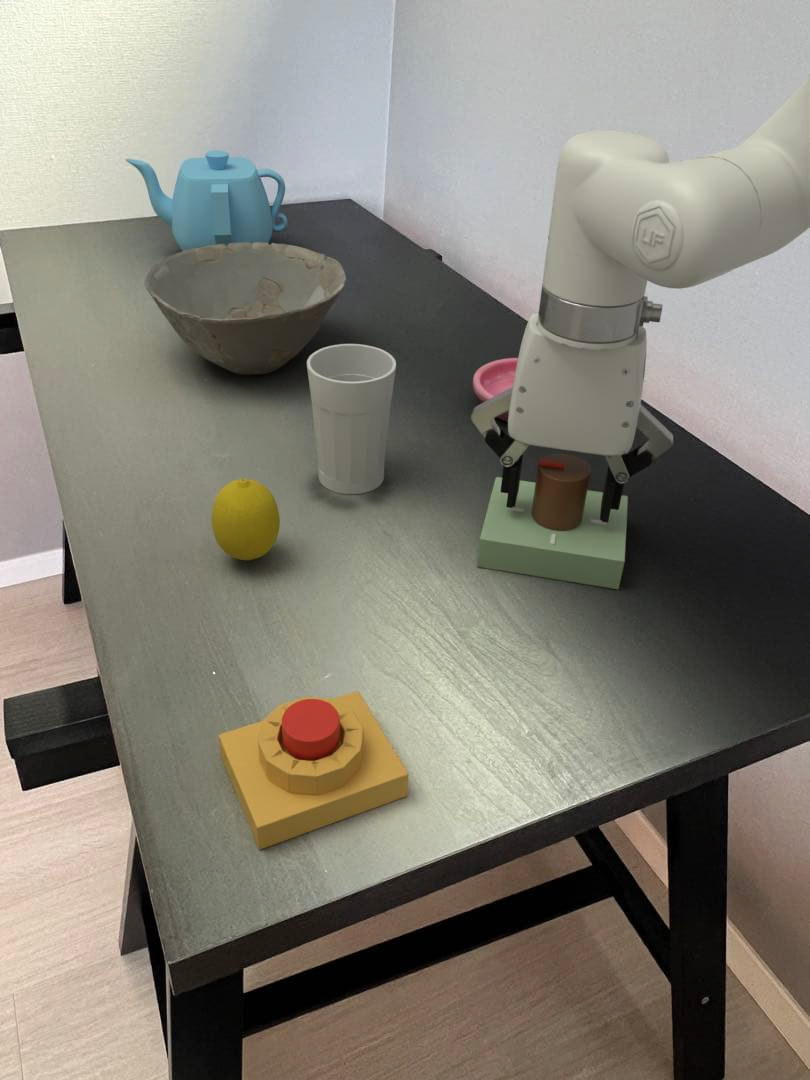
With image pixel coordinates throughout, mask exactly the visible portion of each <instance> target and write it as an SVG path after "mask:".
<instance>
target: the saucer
mask: <svg viewBox="0 0 810 1080" xmlns="http://www.w3.org/2000/svg"><path fill="white" fill-rule="evenodd" d="M517 361H518V357H510V358H509V357H507V358H502V359H496V360H493V361H490V362H487V363H486V364H484V365H482V366H480V367H479V368H478V369H477V370H476V371H475V373H474V375H473V377H472V389H473V392H474V393H475V395H476V397H477V398H478V400H479V401H480V402H481V403H483V402H485V401H487V400H489V399H491V398H493V397H495V396H496V395H498V394H500V393H502V392H504V391H506V390H508V389H510V388H511V387H513V383H514V377H515V372H516V366H517ZM508 417H509V411H507V412H505V413H503V414H501V415H499V416H497V417H496V418H497V419H499V420H501V421H504V422H506V423H508Z"/></svg>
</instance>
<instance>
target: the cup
mask: <svg viewBox="0 0 810 1080" xmlns="http://www.w3.org/2000/svg"><path fill="white" fill-rule="evenodd" d="M306 369H307V376H308V384H309V392H310V393H309V394H310V399H311V409H312V418H313V426H314V436H315V445H316V457H317V462H318V463H317V464H318V465H317V468H318V469H317V471H318V473H317V474H318V480H319V483H320V484H321V485H322V486H323V487H324V488H325V489H327V490H329V491H331V492H335V493H336V494H337V493H338V494H343V495H361V494H365V493H370V492H371V491H374V490H376V489H377V488H379V487H380V486H381V485H382V483H383V482H384V480H385V479H384V478H385V461H386V460H385V459H386V450H387V441H388V433H389V423H390V415H391V408H392V407H391V405H392V400H393V399H392V398H393V393H394V386H395V378H396V372H397V371H396V370H397V361H396V359H395V357H394V356H393V355H392V354H390V353H389V352H387V351H386V350H384V349H382V348H379V347H376V346H371V345H368V344H359V343H339V344H334V345H329V346H326V347H322V348H320V349H318V350H315V351H314V352H312V354H310V355H309V356H308V358H307V359H306Z"/></svg>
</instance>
